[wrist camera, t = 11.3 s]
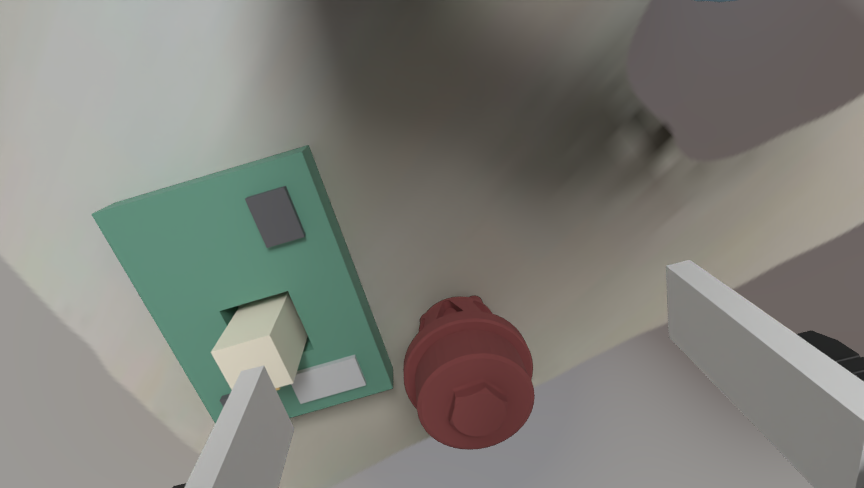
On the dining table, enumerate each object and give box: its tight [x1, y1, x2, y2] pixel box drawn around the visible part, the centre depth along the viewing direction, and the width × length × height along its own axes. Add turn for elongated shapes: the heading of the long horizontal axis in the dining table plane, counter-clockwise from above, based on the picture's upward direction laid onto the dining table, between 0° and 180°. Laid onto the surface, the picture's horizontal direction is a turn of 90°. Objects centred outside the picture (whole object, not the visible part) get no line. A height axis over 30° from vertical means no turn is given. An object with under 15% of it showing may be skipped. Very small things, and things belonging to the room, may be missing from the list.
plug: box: [211, 291, 308, 390], centre depth 37 cm, size 5×4×8 cm
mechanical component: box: [403, 296, 534, 449], centre depth 37 cm, size 12×10×10 cm
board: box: [92, 145, 393, 424], centre depth 38 cm, size 22×16×4 cm
